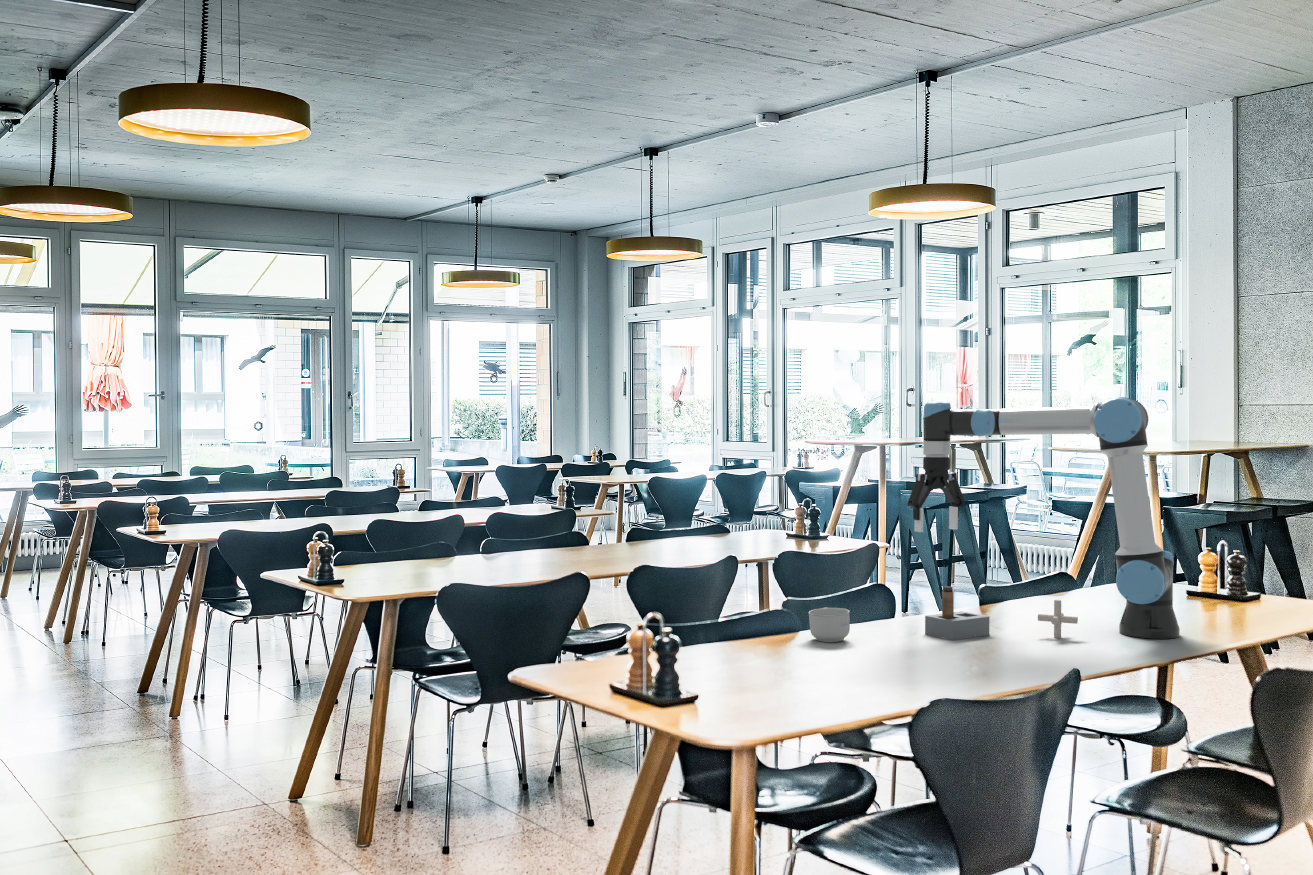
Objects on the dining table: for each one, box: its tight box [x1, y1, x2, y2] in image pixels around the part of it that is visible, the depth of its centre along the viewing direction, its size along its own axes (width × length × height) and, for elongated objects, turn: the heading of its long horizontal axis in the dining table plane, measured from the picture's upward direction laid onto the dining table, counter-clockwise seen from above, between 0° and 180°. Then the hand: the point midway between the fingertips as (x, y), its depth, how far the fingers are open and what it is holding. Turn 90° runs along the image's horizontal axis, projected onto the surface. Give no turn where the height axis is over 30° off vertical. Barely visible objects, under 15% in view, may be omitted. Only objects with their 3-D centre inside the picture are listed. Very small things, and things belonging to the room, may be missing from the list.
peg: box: [941, 586, 955, 619], centre depth 316 cm, size 3×3×13 cm
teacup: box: [807, 606, 851, 643], centre depth 311 cm, size 14×11×8 cm
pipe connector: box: [1037, 599, 1079, 639], centre depth 314 cm, size 10×10×10 cm
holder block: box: [924, 611, 990, 641], centre depth 318 cm, size 10×14×5 cm
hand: (936, 530), depth 334 cm, fingers open, 13 cm apart
